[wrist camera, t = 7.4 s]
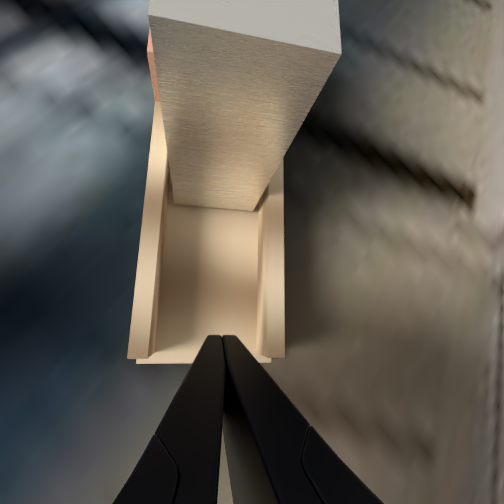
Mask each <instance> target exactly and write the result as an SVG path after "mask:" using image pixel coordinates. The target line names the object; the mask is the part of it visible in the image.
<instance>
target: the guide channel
mask: <svg viewBox="0 0 504 504" xmlns="http://www.w3.org/2000/svg"><path fill="white" fill-rule="evenodd" d="M208 335H221V336H223V335H236V336H237V337H238V338H239V339H240V341H241V342H242V343H243V344H244V345H245V347H246V348H247V349H248V350H249V351H250V353H251V354H252V355H253V356H254V357H255V359H256V360H257V361H258V362H259V363H269V362H271V358H285V311H284V188H283V159H282V160H281V162H280V164H279V166H278V167H277V169H276V171H275V173H274V174H273V176H272V178H271V180H270V182H269V183H268V185H267V187H266V189H265V190H264V192H263V194H262V196H261V198H260V199H259V201H258V203H257V205H256V206H255V208H254V210H253V211H245V210H234V209H223V208H212V207H201V206H190V205H179V204H174V196H173V189H172V182H171V175H170V168H169V160H168V153H167V146H166V139H165V132H164V125H163V117H162V110H161V103H160V102H159V101H155V109H154V118H153V128H152V137H151V146H150V155H149V164H148V173H147V182H146V192H145V201H144V210H143V219H142V228H141V237H140V246H139V255H138V265H137V274H136V283H135V292H134V301H133V310H132V319H131V328H130V338H129V347H128V356H127V359H137V360H136V364H157V363H193V361H194V359H195V357H196V355H197V354H198V352H199V350H200V348H201V346H202V344H203V342H204V341H205V339H206V337H207V336H208Z"/></svg>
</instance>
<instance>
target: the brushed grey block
mask: <svg viewBox="0 0 504 504" xmlns="http://www.w3.org/2000/svg"><path fill="white" fill-rule="evenodd" d="M148 17H149V24H150V31H151V38H152V46H153V53H154V60H155V67H156V74H157V81H158V89H159V96H160V103H161V110H162V117H163V125H164V132H165V139H166V146H167V153H168V160H169V168H170V175H171V182H172V189H173V196H174V204H179V205H190V206H201V207H212V208H223V209H234V210H245V211H253V210H254V208H255V206H256V205H257V203H258V201H259V199H260V198H261V196H262V194H263V192H264V190H265V189H266V187H267V185H268V183H269V182H270V180H271V178H272V176H273V174H274V173H275V171H276V169H277V167H278V166H279V164H280V162H281V160H282V159H283V157H284V155H285V153H286V151H287V150H288V148H289V146H290V144H291V143H292V141H293V139H294V137H295V136H296V134H297V132H298V130H299V128H300V127H301V125H302V123H303V121H304V120H305V118H306V116H307V114H308V113H309V111H310V109H311V107H312V105H313V104H314V102H315V100H316V98H317V97H318V95H319V93H320V91H321V89H322V88H323V86H324V84H325V82H326V81H327V79H328V77H329V75H330V74H331V72H332V70H333V68H334V66H335V65H336V63H337V61H338V59H339V58H340V56H341V40H340V24H339V9H338V0H150V4H149V12H148Z"/></svg>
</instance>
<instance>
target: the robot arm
mask: <svg viewBox="0 0 504 504" xmlns="http://www.w3.org/2000/svg"><path fill="white" fill-rule="evenodd" d="M309 426H310V424H309V422H308V421H307V420H306V419H305V418H304V416H303V415H302V414H301V413H300V412H299V410H298V409H297V408H296V407H295V406H294V404H293V403H292V402H291V401H290V399H289V398H288V397H287V396H286V395H285V393H284V392H283V391H282V390H281V389H280V387H279V386H278V385H277V384H276V383H275V381H274V380H273V379H272V378H271V377H270V375H269V374H268V373H267V372H266V371H265V369H264V368H263V367H262V366H261V365H260V363H259V362H258V361H257V360H256V359H255V357H254V356H253V355H252V354H251V353H250V351H249V350H248V349H247V348H246V347H245V345H244V344H243V343H242V342H241V341H240V339H239V338H238V337H237V336H236V335H223V336H221V335H208V336H207V337H206V339H205V341H204V342H203V344H202V346H201V348H200V350H199V352H198V354H197V355H196V357H195V359H194V361H193V363H192V365H191V367H190V368H189V370H188V372H187V374H186V376H185V378H184V380H183V381H182V383H181V385H180V387H179V389H178V391H177V393H176V395H175V396H174V398H173V400H172V402H171V404H170V406H169V408H168V409H167V411H166V413H165V415H164V417H163V419H162V421H161V422H160V424H159V426H158V428H157V430H156V432H155V435H153V437H152V438H151V440H150V442H149V444H148V446H147V448H146V449H145V451H144V453H143V455H142V457H141V458H140V460H139V462H138V463H137V465H136V467H135V469H134V470H133V472H132V474H131V476H130V477H129V479H128V480H127V482H126V483H125V485H124V487H123V488H122V490H121V491H120V493H119V494H118V496H117V497H116V499H115V500H114V502H113V504H217V496H218V481H219V467H220V452H221V438H222V428H223V435H224V442H225V449H226V455H227V462H228V469H229V476H230V483H231V490H232V496H233V503H234V504H384V503H383V502H382V501H381V500H380V499H379V498H378V497H377V496H376V495H375V494H374V493H373V492H372V491H371V490H370V489H369V488H368V487H367V486H366V485H365V484H364V483H363V482H362V481H361V480H360V479H359V478H358V477H357V476H356V475H355V474H354V473H353V472H352V471H351V470H350V468H349V467H348V466H347V465H346V464H345V463H344V462H343V461H342V460H341V459H340V458H339V457H338V456H337V454H336V453H335V452H334V451H333V450H332V449H331V448H330V446H329V445H328V444H327V443H326V442H325V441H324V440H323V438H322V437H321V436H320V435H319V434H318V432H317V431H316V430H315V429H314V428H313V426H310V427H309Z"/></svg>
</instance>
